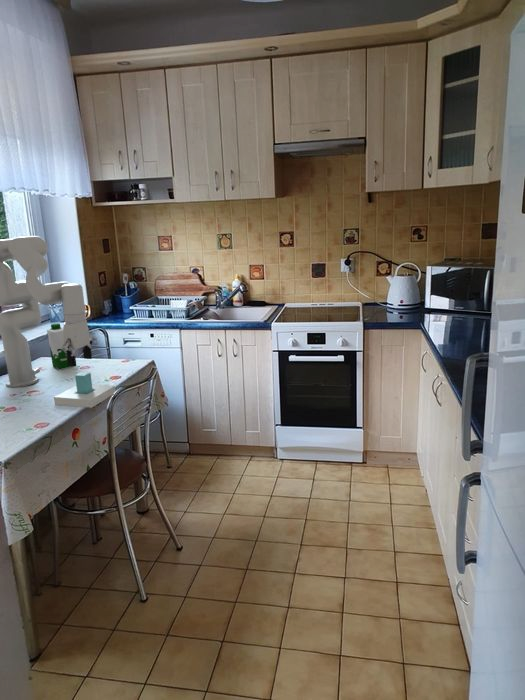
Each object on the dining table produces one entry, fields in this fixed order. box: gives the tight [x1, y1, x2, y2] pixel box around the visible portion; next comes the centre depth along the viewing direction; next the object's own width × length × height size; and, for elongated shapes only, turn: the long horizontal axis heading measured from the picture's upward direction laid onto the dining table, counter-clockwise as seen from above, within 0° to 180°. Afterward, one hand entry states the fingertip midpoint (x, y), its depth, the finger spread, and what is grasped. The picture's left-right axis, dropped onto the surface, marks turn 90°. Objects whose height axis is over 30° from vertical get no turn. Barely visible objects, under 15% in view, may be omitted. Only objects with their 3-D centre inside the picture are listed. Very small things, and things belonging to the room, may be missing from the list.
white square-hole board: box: [53, 383, 116, 408], centre depth 205 cm, size 22×16×3 cm
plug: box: [74, 371, 93, 394], centre depth 201 cm, size 4×4×10 cm
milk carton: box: [46, 322, 73, 370], centre depth 245 cm, size 9×9×20 cm
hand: (80, 362), depth 199 cm, fingers open, 9 cm apart
